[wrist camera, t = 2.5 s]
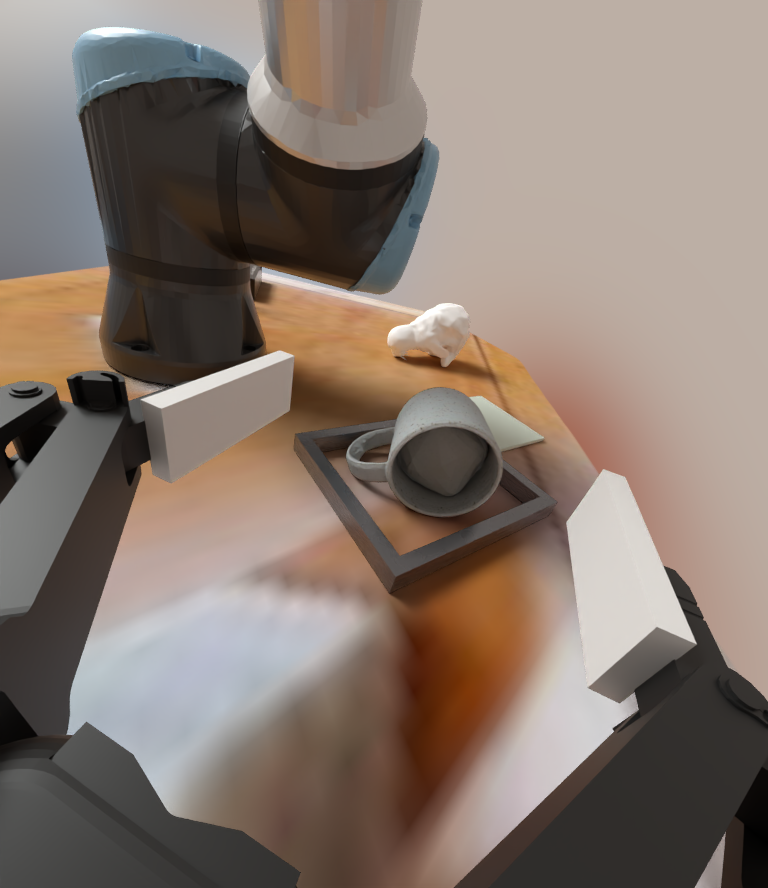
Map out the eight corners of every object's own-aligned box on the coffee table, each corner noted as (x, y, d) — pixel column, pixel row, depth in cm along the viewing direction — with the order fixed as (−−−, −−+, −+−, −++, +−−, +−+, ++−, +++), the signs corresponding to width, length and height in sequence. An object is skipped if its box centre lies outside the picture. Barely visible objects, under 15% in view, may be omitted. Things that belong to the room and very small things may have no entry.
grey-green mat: (422, 405, 40) (423, 402, 40) (479, 398, 46) (480, 395, 46) (485, 456, 34) (486, 452, 34) (542, 440, 39) (544, 437, 39)
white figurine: (480, 311, 49) (401, 308, 45) (465, 368, 54) (392, 370, 50) (459, 299, 54) (385, 295, 50) (446, 353, 59) (378, 353, 55)
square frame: (293, 449, 28) (295, 433, 27) (438, 424, 37) (442, 412, 36) (389, 593, 19) (395, 576, 18) (548, 515, 28) (557, 502, 27)
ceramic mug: (465, 462, 32) (496, 386, 28) (479, 527, 25) (523, 440, 21) (352, 438, 32) (366, 358, 28) (335, 499, 25) (351, 403, 21)
